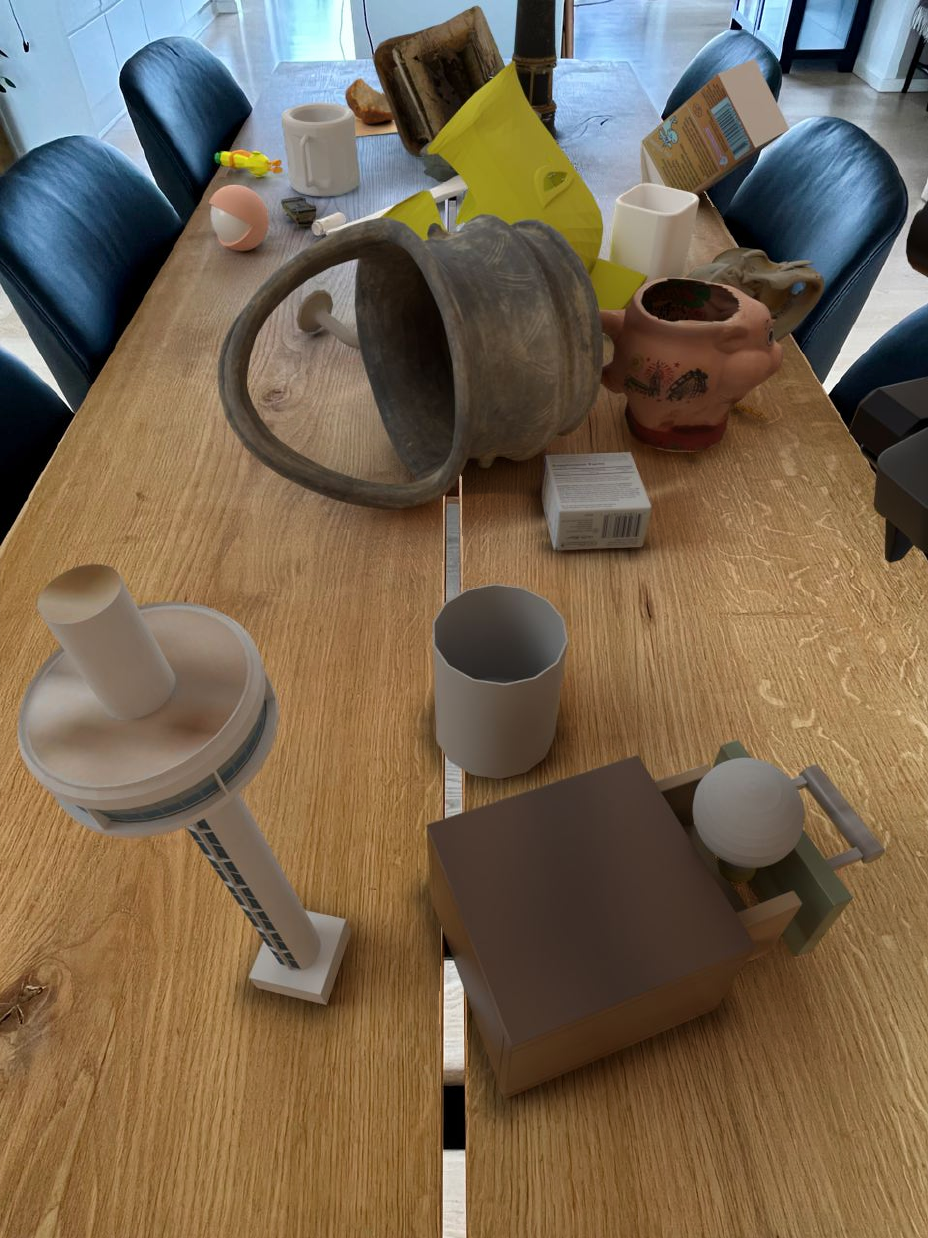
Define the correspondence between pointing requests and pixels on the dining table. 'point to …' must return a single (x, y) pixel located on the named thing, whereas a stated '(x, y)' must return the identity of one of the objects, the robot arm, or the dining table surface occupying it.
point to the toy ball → (238, 217)
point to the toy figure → (248, 162)
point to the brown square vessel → (435, 74)
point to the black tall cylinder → (536, 56)
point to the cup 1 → (497, 679)
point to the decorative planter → (687, 359)
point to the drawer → (784, 863)
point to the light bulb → (748, 816)
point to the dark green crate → (299, 210)
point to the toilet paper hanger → (323, 318)
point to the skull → (767, 284)
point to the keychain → (749, 411)
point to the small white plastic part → (328, 223)
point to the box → (594, 501)
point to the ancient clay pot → (441, 349)
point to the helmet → (519, 182)
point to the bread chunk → (369, 109)
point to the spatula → (438, 192)
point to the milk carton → (713, 132)
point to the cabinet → (580, 921)
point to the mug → (321, 148)
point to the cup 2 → (653, 230)
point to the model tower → (171, 750)
